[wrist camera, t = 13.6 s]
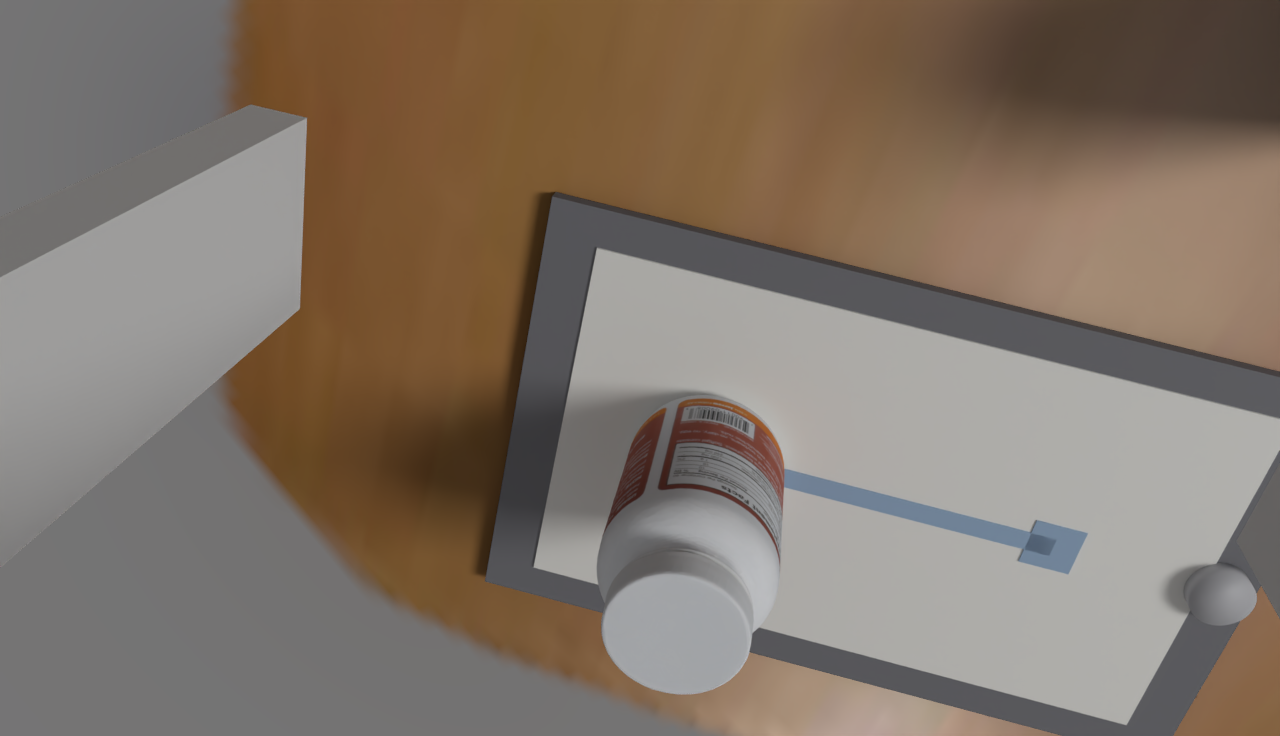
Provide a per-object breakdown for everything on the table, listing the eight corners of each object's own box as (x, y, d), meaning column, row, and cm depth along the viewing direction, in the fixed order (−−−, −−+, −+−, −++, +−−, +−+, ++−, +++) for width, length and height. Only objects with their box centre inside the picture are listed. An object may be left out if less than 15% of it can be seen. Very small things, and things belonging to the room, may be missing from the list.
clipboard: (555, 191, 40) (547, 202, 38) (1362, 392, 38) (1380, 409, 37) (488, 573, 48) (480, 592, 46) (1154, 751, 46) (1163, 775, 45)
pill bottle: (672, 542, 45) (630, 736, 35) (604, 422, 43) (539, 590, 33) (811, 495, 43) (808, 686, 33) (746, 366, 41) (722, 527, 31)
